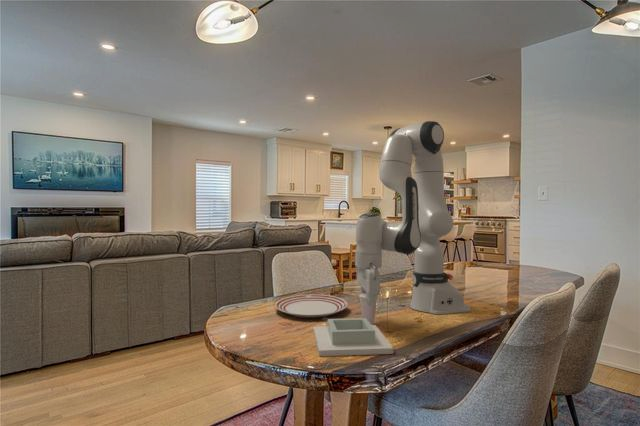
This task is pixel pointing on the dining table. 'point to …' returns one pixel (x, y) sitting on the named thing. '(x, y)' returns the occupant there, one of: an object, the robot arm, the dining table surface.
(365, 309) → the smoothie
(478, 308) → the dining table surface
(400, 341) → the dining table surface
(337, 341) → the socket dock
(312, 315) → the dinner plate
